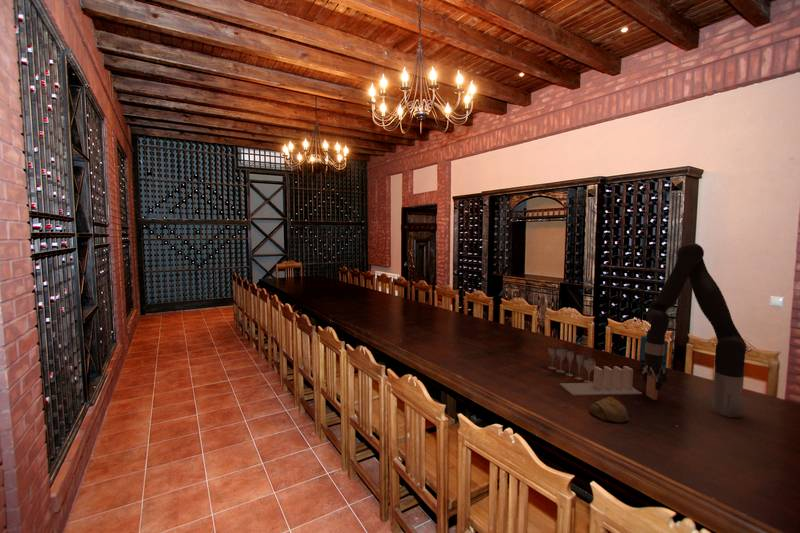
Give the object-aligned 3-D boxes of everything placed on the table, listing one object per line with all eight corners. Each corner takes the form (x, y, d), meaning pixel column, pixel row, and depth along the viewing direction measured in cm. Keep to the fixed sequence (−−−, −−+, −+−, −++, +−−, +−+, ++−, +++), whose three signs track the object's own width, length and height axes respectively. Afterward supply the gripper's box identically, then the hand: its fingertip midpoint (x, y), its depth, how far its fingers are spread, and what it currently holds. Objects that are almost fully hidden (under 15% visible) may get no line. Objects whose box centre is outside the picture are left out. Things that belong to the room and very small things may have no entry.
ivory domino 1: (602, 390, 181) (603, 370, 180) (599, 390, 181) (600, 370, 180) (596, 386, 186) (597, 366, 185) (593, 386, 186) (594, 366, 185)
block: (666, 378, 199) (668, 341, 197) (659, 379, 197) (662, 342, 195) (644, 370, 210) (646, 335, 208) (638, 371, 208) (640, 336, 206)
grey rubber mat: (642, 394, 178) (642, 393, 178) (573, 395, 176) (573, 394, 176) (624, 383, 191) (624, 382, 191) (559, 384, 189) (559, 383, 189)
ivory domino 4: (631, 389, 182) (633, 369, 181) (628, 389, 182) (630, 369, 181) (625, 385, 187) (626, 366, 186) (622, 385, 187) (623, 366, 186)
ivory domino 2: (612, 390, 182) (613, 370, 181) (609, 390, 181) (610, 370, 181) (605, 385, 187) (607, 366, 186) (602, 385, 186) (603, 366, 186)
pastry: (632, 417, 156) (633, 398, 155) (623, 428, 147) (624, 408, 147) (595, 406, 166) (596, 388, 165) (585, 415, 157) (586, 397, 157)
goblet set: (545, 367, 213) (546, 344, 212) (552, 366, 216) (553, 343, 215) (590, 385, 189) (591, 359, 188) (597, 383, 191) (598, 358, 190)
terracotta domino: (657, 399, 173) (658, 378, 172) (653, 399, 173) (655, 378, 172) (649, 395, 178) (650, 374, 177) (645, 395, 178) (647, 374, 177)
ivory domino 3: (622, 389, 182) (623, 369, 181) (618, 389, 182) (620, 369, 181) (615, 385, 187) (616, 366, 186) (612, 385, 187) (613, 366, 186)
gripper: (674, 357, 167) (670, 392, 168) (651, 347, 181) (648, 379, 182) (657, 357, 166) (654, 392, 168) (636, 347, 180) (633, 379, 182)
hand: (651, 385), depth 175 cm, fingers open, 8 cm apart
